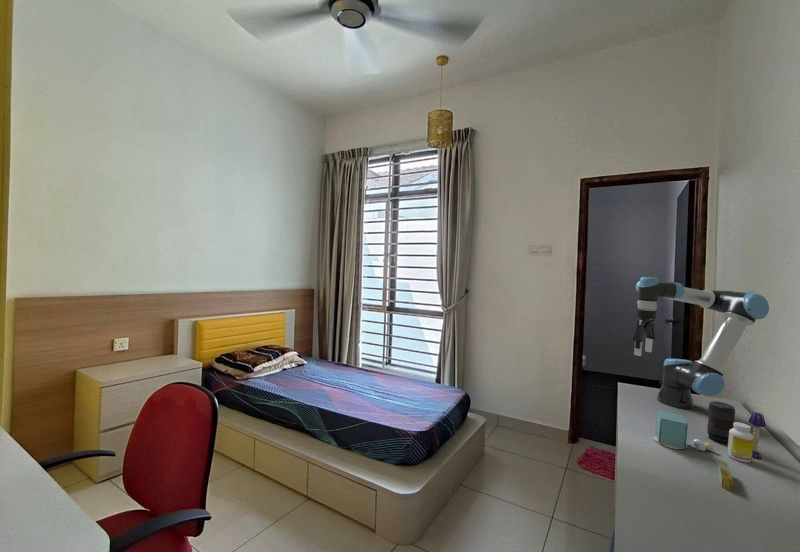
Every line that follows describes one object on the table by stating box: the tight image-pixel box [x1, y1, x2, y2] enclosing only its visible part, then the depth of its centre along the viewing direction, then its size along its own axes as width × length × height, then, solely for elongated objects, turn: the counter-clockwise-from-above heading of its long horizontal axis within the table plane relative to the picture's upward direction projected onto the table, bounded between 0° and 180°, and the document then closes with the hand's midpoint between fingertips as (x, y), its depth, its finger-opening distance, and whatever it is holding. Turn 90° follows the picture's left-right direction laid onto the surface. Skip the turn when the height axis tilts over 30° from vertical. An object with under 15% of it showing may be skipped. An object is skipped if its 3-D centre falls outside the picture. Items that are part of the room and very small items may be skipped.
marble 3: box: [703, 441, 714, 452], centre depth 139 cm, size 3×3×3 cm
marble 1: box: [692, 438, 703, 447], centre depth 141 cm, size 3×3×3 cm
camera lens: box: [706, 400, 736, 445], centre depth 147 cm, size 8×8×15 cm
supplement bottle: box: [726, 421, 754, 464], centre depth 134 cm, size 7×7×13 cm
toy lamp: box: [747, 411, 767, 460], centre depth 136 cm, size 5×5×17 cm
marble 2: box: [695, 442, 707, 452], centre depth 138 cm, size 3×3×3 cm
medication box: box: [716, 460, 734, 492], centre depth 119 cm, size 12×3×4 cm, turn 144°
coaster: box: [652, 434, 689, 450], centre depth 144 cm, size 11×11×1 cm
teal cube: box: [655, 410, 689, 450], centre depth 143 cm, size 8×8×10 cm
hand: (643, 353), depth 171 cm, fingers open, 13 cm apart
